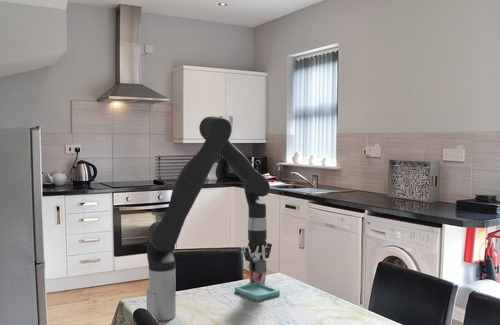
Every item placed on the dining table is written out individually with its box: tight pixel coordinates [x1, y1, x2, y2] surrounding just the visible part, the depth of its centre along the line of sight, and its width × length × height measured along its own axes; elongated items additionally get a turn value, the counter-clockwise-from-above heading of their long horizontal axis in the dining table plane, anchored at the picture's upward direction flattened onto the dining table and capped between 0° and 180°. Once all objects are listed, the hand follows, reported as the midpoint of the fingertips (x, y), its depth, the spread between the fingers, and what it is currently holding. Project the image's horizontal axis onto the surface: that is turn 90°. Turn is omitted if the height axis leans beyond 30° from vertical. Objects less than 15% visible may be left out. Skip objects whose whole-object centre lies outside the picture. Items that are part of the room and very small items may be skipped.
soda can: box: [249, 254, 267, 284], centre depth 195 cm, size 7×7×12 cm
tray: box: [234, 282, 281, 303], centre depth 181 cm, size 12×14×2 cm
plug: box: [247, 258, 267, 274], centre depth 181 cm, size 8×4×4 cm, turn 38°
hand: (257, 270), depth 181 cm, fingers closed on plug, 4 cm apart
